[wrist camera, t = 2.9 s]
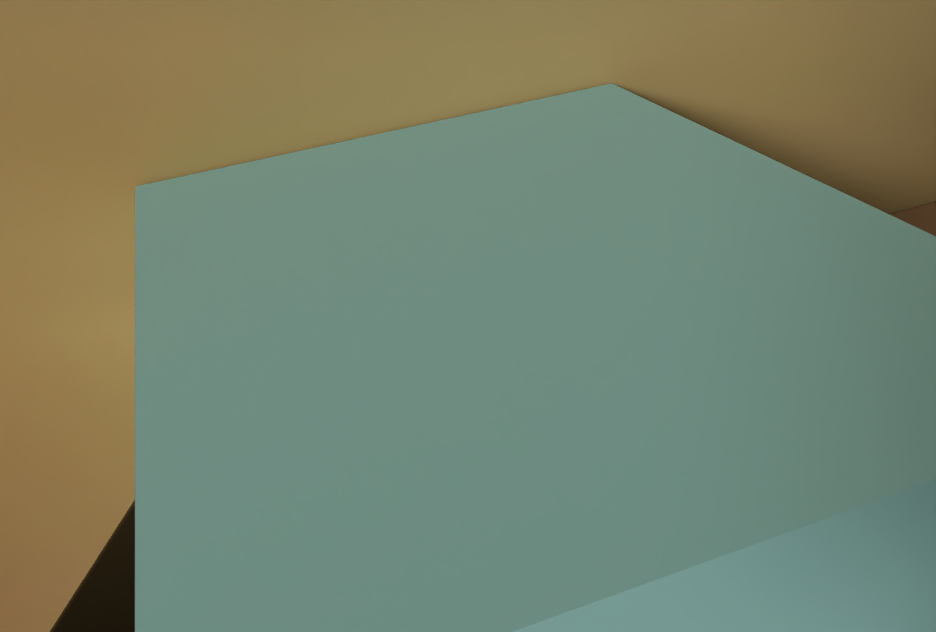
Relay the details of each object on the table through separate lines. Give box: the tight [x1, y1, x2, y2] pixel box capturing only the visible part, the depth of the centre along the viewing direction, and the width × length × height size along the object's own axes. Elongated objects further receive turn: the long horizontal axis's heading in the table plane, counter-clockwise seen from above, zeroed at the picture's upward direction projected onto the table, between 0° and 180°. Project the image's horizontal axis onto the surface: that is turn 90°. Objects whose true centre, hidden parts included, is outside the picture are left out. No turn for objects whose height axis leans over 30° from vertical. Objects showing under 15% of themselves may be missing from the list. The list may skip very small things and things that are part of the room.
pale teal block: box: [135, 83, 936, 632], centre depth 8 cm, size 5×5×7 cm
